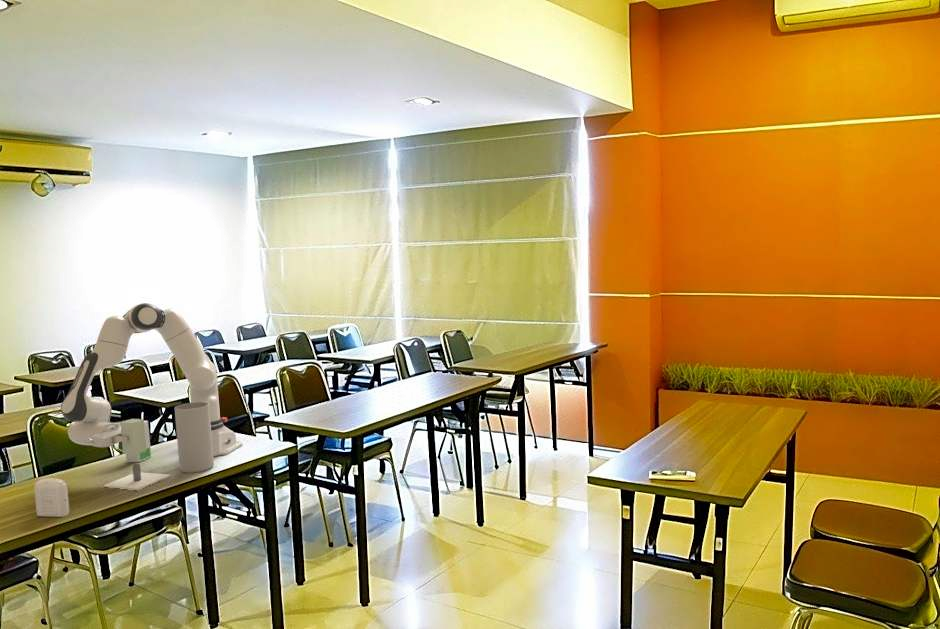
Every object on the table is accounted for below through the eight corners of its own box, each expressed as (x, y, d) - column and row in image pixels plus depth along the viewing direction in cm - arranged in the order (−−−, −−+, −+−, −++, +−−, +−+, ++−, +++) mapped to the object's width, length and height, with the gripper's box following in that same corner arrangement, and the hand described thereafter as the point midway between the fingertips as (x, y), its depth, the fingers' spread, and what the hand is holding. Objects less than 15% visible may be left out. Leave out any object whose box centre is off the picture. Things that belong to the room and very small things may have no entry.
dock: (137, 473, 280) (135, 455, 279) (170, 476, 275) (168, 457, 274) (103, 487, 265) (101, 468, 264) (138, 490, 260) (136, 471, 259)
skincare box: (139, 462, 295) (135, 425, 294) (124, 462, 297) (121, 425, 295) (152, 456, 304) (148, 420, 302) (138, 456, 305) (134, 420, 303)
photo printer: (72, 512, 240) (68, 476, 239) (63, 517, 236) (59, 480, 235) (44, 512, 242) (40, 476, 241) (34, 517, 238) (30, 480, 236)
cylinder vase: (174, 474, 278) (169, 410, 275) (187, 464, 290) (182, 402, 288) (207, 472, 278) (201, 408, 275) (218, 463, 290) (213, 401, 288)
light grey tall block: (134, 449, 272) (131, 418, 271) (146, 450, 270) (143, 419, 269) (122, 453, 267) (120, 422, 266) (134, 454, 265) (132, 423, 264)
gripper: (82, 433, 263) (111, 435, 258) (126, 419, 282) (154, 421, 277) (84, 450, 263) (113, 452, 258) (128, 435, 282) (156, 437, 278)
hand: (135, 436), depth 268 cm, fingers closed on light grey tall block, 6 cm apart
